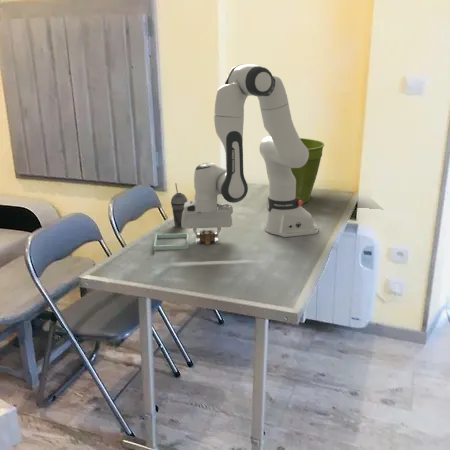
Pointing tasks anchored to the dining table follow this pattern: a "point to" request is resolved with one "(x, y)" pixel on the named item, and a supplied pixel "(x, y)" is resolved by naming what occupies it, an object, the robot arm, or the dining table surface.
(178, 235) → the tray
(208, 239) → the ring
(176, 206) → the beverage cup
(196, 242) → the stake
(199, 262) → the dining table surface
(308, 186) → the plant pot
